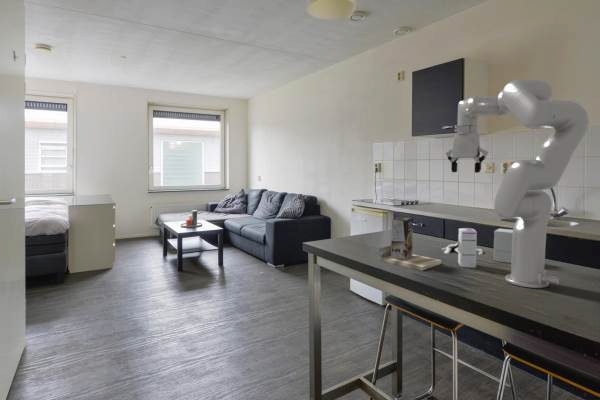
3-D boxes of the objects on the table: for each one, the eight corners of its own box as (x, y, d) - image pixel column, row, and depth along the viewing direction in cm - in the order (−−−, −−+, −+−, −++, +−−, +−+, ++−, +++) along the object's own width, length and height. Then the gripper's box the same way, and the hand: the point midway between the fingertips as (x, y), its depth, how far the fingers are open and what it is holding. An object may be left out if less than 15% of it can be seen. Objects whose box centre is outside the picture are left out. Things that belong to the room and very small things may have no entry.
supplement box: (517, 260, 154) (519, 230, 152) (512, 263, 148) (514, 232, 147) (497, 257, 159) (499, 227, 157) (492, 260, 153) (493, 230, 152)
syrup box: (476, 267, 143) (477, 230, 142) (460, 267, 144) (461, 230, 143) (472, 263, 149) (474, 228, 147) (457, 263, 150) (458, 227, 148)
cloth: (455, 245, 183) (456, 233, 183) (492, 253, 168) (493, 239, 167) (426, 252, 171) (426, 238, 170) (463, 260, 156) (463, 246, 155)
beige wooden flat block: (441, 263, 149) (441, 250, 149) (421, 270, 140) (422, 256, 140) (397, 254, 165) (397, 242, 164) (377, 260, 156) (378, 247, 155)
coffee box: (405, 260, 150) (406, 220, 148) (390, 258, 153) (391, 219, 151) (413, 255, 157) (413, 217, 155) (398, 253, 161) (398, 216, 159)
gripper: (442, 131, 157) (441, 172, 159) (484, 128, 144) (482, 172, 146) (451, 132, 162) (450, 171, 164) (492, 129, 149) (490, 172, 151)
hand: (465, 172), depth 155 cm, fingers open, 9 cm apart
